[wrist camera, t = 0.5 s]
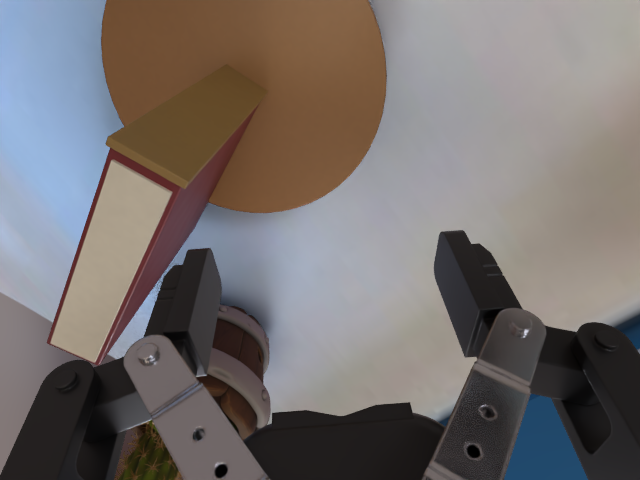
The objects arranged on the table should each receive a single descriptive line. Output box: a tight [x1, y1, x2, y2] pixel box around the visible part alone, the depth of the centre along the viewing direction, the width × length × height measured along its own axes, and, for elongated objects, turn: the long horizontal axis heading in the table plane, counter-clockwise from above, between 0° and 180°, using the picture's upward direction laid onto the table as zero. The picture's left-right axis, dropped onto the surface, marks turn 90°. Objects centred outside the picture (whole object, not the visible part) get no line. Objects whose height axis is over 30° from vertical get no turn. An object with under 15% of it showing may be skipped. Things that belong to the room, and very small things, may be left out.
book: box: [47, 0, 387, 365], centre depth 24 cm, size 23×20×16 cm
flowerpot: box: [115, 304, 270, 480], centre depth 39 cm, size 14×15×20 cm
